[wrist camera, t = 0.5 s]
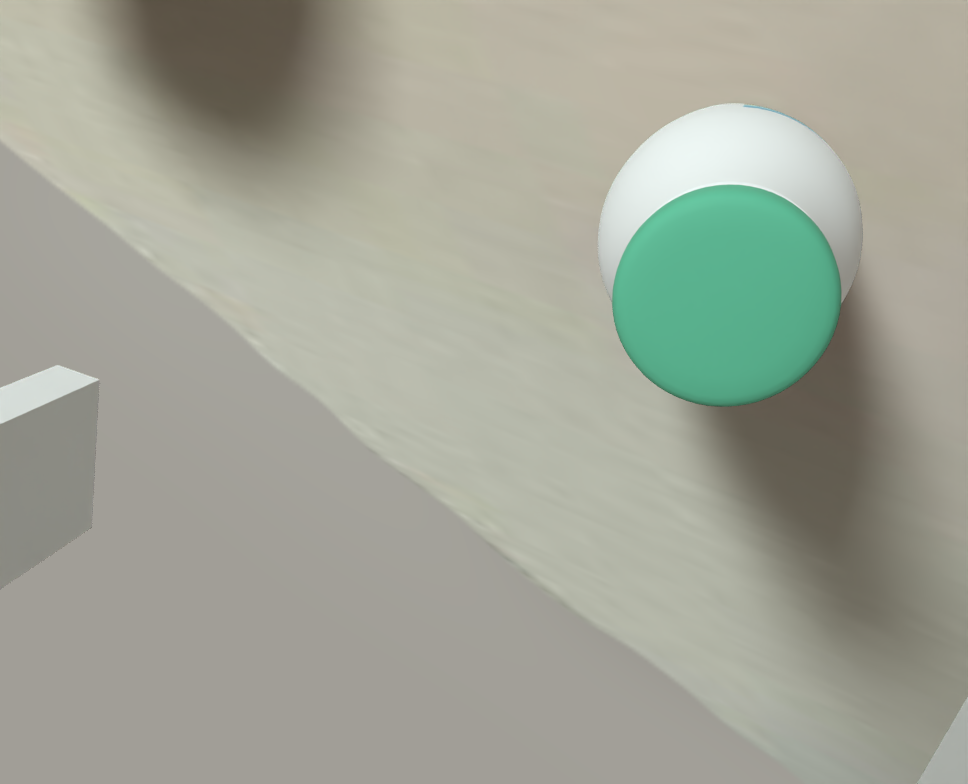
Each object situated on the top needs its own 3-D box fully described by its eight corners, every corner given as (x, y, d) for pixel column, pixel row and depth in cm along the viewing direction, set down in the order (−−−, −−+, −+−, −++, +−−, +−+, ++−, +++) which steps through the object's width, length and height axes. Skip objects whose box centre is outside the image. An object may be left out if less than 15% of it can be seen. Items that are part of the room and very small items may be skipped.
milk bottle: (650, 305, 37) (575, 497, 19) (618, 128, 35) (500, 157, 17) (835, 273, 35) (951, 459, 17) (812, 81, 33) (914, 56, 15)
